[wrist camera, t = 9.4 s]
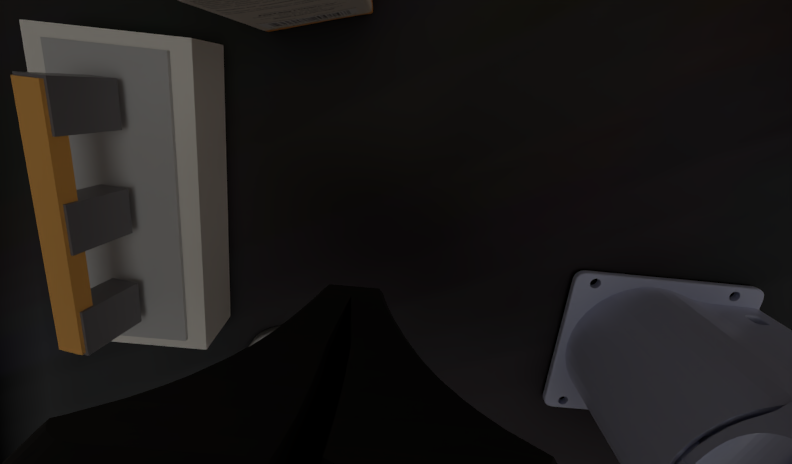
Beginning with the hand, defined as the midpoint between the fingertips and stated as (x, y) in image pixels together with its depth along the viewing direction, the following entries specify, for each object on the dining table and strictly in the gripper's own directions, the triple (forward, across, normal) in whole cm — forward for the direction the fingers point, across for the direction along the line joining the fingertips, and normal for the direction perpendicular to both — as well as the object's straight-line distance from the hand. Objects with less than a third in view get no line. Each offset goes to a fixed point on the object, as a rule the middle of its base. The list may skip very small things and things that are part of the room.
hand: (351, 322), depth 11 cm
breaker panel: (+10, +10, 0) cm, 14 cm away
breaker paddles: (+7, +10, 0) cm, 12 cm away
